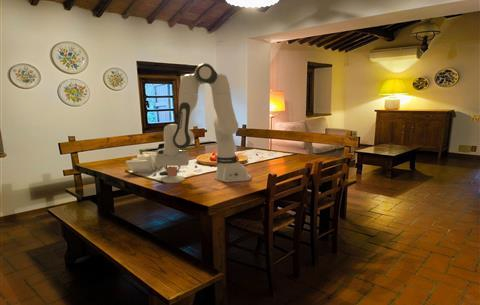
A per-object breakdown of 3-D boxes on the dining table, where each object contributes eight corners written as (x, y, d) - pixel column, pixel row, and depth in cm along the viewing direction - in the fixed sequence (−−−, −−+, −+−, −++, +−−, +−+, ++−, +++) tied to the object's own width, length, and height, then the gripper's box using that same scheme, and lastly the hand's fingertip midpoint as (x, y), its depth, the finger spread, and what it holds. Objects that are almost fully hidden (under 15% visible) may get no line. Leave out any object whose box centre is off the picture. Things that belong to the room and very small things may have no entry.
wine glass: (159, 176, 201) (157, 145, 198) (158, 172, 211) (157, 143, 207) (175, 174, 204) (174, 144, 200) (174, 171, 214) (173, 142, 210)
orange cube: (177, 174, 194) (177, 166, 193) (176, 176, 189) (175, 168, 188) (169, 174, 194) (168, 166, 193) (167, 176, 189) (167, 168, 188)
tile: (186, 176, 199) (186, 175, 199) (182, 182, 185) (182, 181, 185) (164, 177, 199) (164, 175, 198) (159, 183, 185) (159, 181, 185)
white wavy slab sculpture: (145, 175, 204) (144, 159, 202) (123, 173, 208) (122, 158, 206) (170, 163, 237) (169, 150, 235) (151, 162, 241) (150, 149, 239)
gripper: (189, 149, 192) (190, 171, 194) (156, 149, 191) (157, 171, 194) (188, 151, 186) (188, 173, 188) (153, 151, 185) (154, 174, 187)
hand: (172, 172), depth 191 cm, fingers closed on orange cube, 5 cm apart
